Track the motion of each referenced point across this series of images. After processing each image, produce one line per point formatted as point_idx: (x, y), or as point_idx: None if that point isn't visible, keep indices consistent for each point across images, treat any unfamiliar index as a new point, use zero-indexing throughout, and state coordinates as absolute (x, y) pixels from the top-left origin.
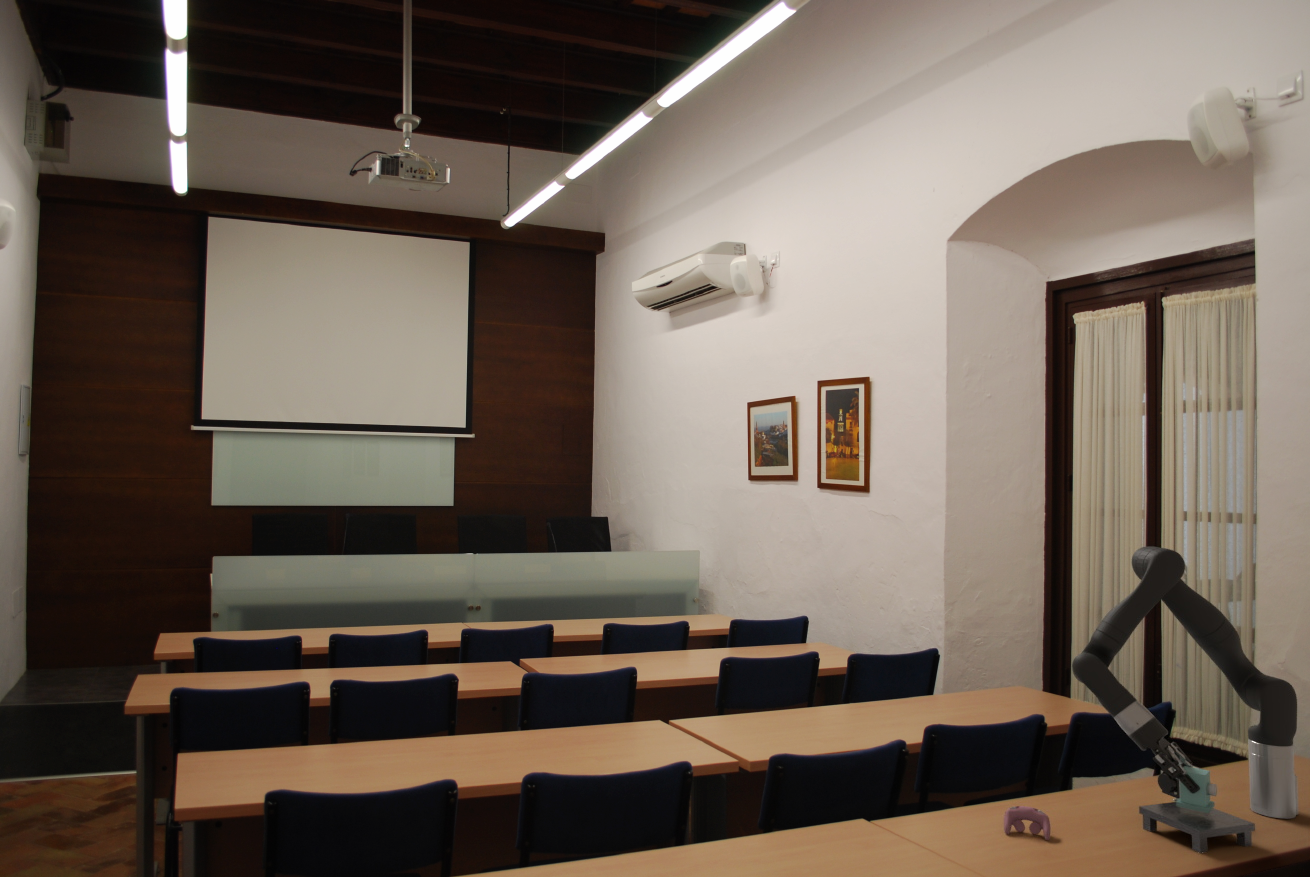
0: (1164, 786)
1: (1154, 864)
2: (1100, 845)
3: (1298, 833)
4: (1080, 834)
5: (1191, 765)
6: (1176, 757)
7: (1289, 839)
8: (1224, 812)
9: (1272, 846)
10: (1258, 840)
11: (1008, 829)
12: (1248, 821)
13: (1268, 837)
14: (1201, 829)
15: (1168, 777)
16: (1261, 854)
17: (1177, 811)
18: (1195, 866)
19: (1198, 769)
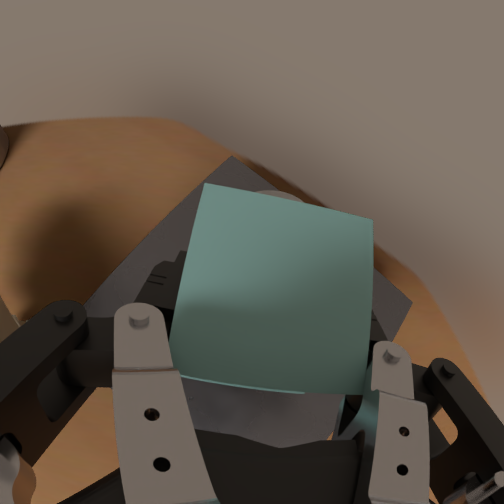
0: None
1: (471, 382)
2: (429, 490)
3: (82, 119)
4: None
5: (144, 313)
6: (399, 445)
7: (128, 130)
8: (155, 229)
9: (200, 159)
10: (169, 182)
11: None
12: (220, 168)
13: (133, 163)
14: (398, 299)
15: None
16: (279, 185)
17: (248, 388)
18: (444, 316)
19: (222, 259)
